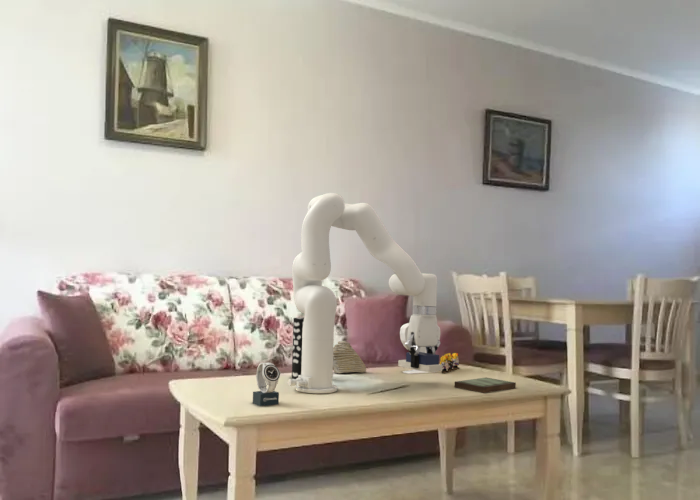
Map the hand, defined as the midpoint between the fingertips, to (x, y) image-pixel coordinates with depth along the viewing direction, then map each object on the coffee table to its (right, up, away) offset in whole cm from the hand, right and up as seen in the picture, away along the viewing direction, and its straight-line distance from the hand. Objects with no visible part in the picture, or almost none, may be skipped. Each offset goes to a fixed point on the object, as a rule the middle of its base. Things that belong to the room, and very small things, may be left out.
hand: (422, 366), depth 219 cm
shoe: (-1, -1, +1) cm, 1 cm away
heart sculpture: (+2, -7, +29) cm, 30 cm away
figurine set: (+14, -8, +34) cm, 37 cm away
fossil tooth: (-25, -6, +22) cm, 34 cm away
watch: (-46, -4, -36) cm, 59 cm away
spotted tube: (-39, -5, +8) cm, 40 cm away
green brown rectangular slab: (+20, -6, -2) cm, 21 cm away
